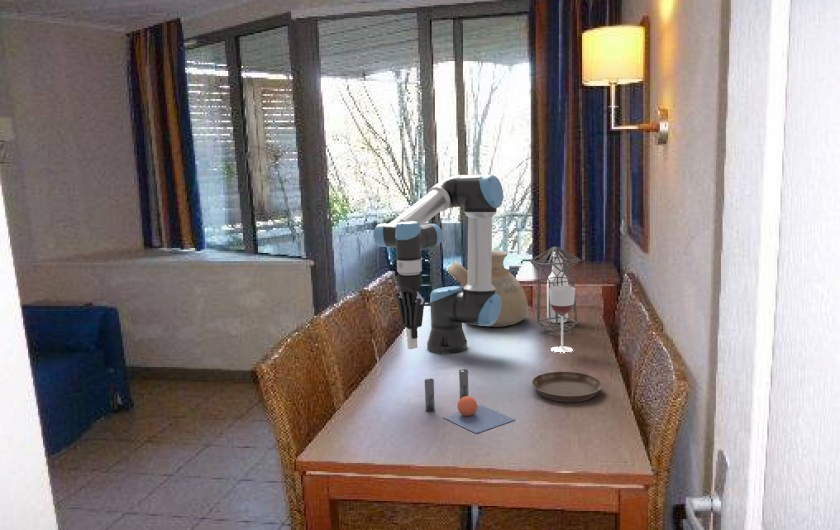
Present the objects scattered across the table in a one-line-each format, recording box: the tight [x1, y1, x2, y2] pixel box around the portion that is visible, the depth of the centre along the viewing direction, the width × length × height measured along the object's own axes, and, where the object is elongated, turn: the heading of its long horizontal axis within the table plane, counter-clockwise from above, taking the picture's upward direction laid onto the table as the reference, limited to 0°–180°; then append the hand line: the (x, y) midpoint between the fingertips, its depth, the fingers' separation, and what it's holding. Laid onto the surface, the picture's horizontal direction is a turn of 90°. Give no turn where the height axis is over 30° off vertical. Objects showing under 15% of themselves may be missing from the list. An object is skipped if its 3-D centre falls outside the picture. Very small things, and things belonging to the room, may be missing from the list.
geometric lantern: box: [530, 246, 583, 337], centre depth 266 cm, size 16×16×35 cm
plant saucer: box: [531, 371, 603, 403], centre depth 202 cm, size 21×21×3 cm
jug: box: [447, 250, 529, 328], centre depth 288 cm, size 29×34×30 cm
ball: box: [457, 396, 478, 416], centre depth 186 cm, size 6×6×6 cm
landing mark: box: [443, 404, 516, 435], centre depth 184 cm, size 14×14×1 cm
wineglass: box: [549, 285, 576, 354], centre depth 244 cm, size 9×10×23 cm
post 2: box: [458, 369, 469, 400], centre depth 198 cm, size 3×3×9 cm
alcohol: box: [546, 251, 569, 324], centre depth 285 cm, size 9×9×30 cm
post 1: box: [424, 378, 436, 413], centre depth 191 cm, size 3×3×9 cm
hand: (412, 347), depth 207 cm, fingers closed
